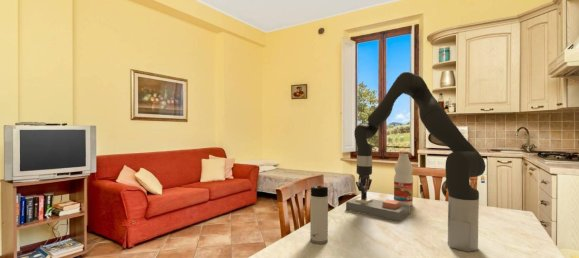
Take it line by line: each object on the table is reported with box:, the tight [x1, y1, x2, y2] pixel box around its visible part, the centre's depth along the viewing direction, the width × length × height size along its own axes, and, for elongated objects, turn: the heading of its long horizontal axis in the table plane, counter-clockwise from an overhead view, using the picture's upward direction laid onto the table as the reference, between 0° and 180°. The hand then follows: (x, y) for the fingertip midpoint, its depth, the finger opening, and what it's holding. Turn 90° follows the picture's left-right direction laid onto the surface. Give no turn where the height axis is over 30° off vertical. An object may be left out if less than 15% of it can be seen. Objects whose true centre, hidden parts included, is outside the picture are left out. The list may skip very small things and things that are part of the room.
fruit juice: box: [393, 150, 414, 207], centre depth 159 cm, size 9×9×28 cm
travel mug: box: [309, 186, 329, 245], centre depth 109 cm, size 6×7×20 cm
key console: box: [345, 196, 411, 222], centre depth 145 cm, size 14×26×4 cm, turn 49°
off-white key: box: [356, 196, 373, 204], centre depth 150 cm, size 6×6×4 cm
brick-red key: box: [382, 199, 400, 209], centre depth 140 cm, size 6×6×4 cm
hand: (363, 199), depth 150 cm, fingers closed
